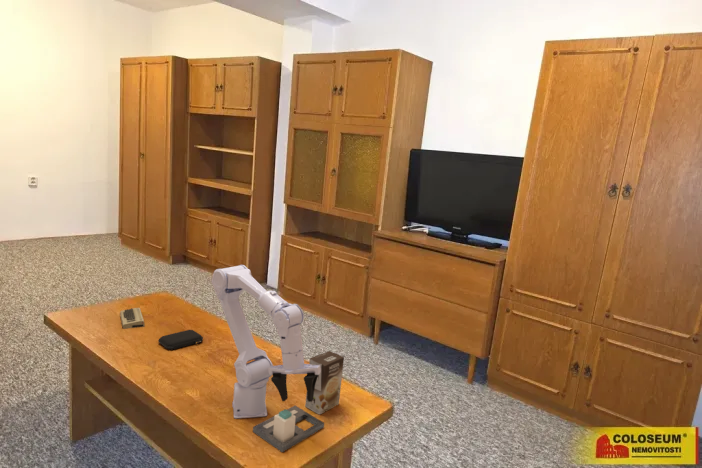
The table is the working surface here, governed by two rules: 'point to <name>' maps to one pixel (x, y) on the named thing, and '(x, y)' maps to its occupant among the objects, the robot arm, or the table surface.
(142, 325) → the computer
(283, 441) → the plug
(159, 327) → the table surface
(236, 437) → the table surface
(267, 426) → the panel
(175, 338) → the carrying case or bag
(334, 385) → the coffee box
